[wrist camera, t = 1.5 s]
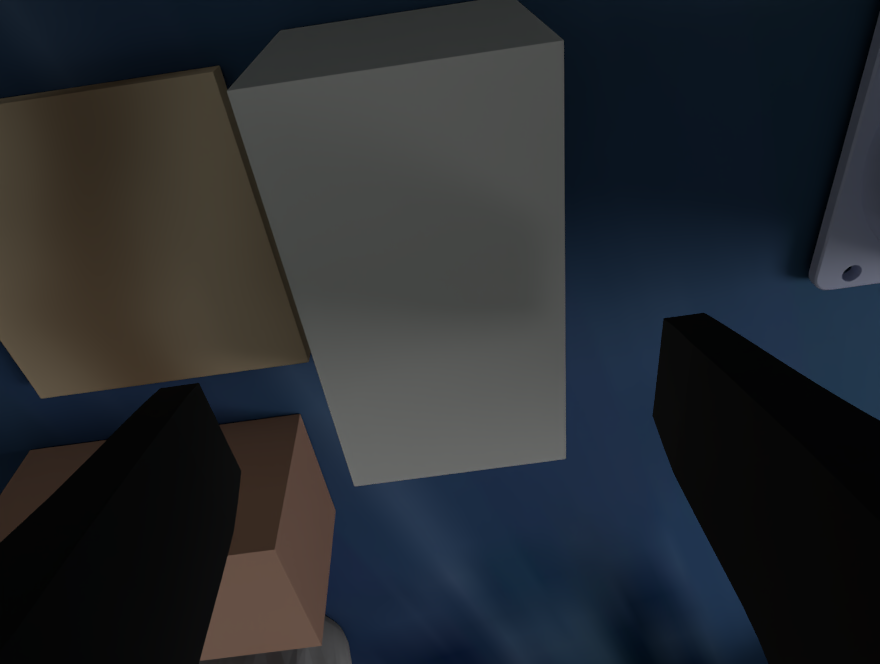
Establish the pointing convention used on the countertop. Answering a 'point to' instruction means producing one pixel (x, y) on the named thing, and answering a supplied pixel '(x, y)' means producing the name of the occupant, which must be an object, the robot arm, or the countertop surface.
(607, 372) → the countertop surface
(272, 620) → the tan cardboard brick
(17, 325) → the coaster
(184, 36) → the countertop surface
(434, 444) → the block
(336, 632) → the cupcake
